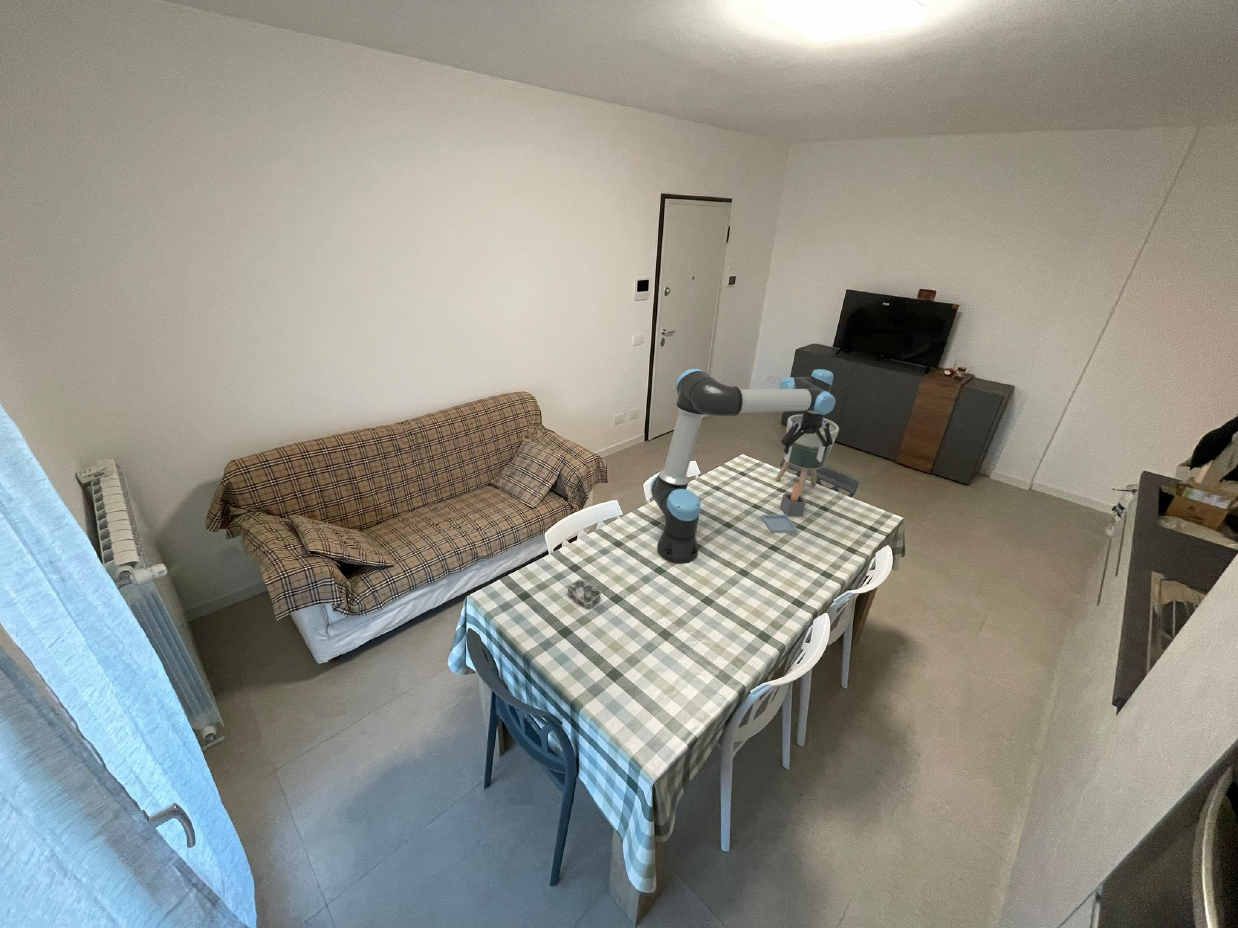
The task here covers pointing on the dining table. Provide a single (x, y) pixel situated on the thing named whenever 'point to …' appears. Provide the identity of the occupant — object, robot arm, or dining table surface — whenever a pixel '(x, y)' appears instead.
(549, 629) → the dining table surface
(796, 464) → the planter
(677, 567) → the dining table surface
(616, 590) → the dining table surface
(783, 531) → the tray
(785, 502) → the pen pot
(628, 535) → the dining table surface
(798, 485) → the dowel
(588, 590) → the egg carton
